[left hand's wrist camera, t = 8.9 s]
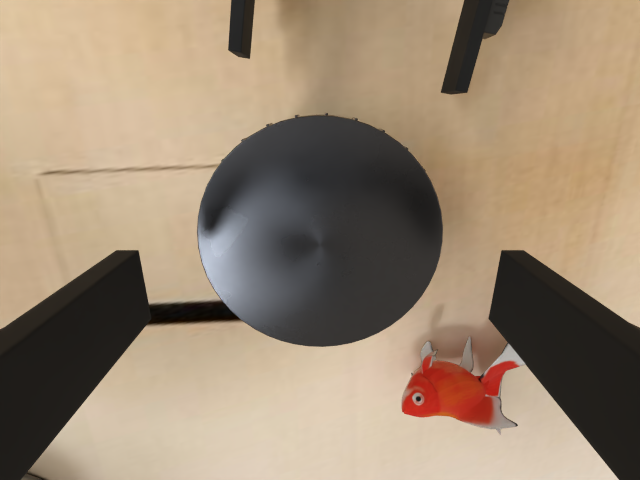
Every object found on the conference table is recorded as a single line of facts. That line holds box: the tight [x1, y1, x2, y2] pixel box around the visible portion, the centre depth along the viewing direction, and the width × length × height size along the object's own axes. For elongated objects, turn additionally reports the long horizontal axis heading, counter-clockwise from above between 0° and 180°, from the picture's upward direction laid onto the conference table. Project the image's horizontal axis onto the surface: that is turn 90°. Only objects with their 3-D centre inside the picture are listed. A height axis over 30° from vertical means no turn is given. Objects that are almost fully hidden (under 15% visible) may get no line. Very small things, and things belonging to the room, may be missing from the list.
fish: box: [402, 337, 525, 435], centre depth 33 cm, size 11×16×10 cm
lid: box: [197, 113, 443, 347], centre depth 17 cm, size 11×11×2 cm
